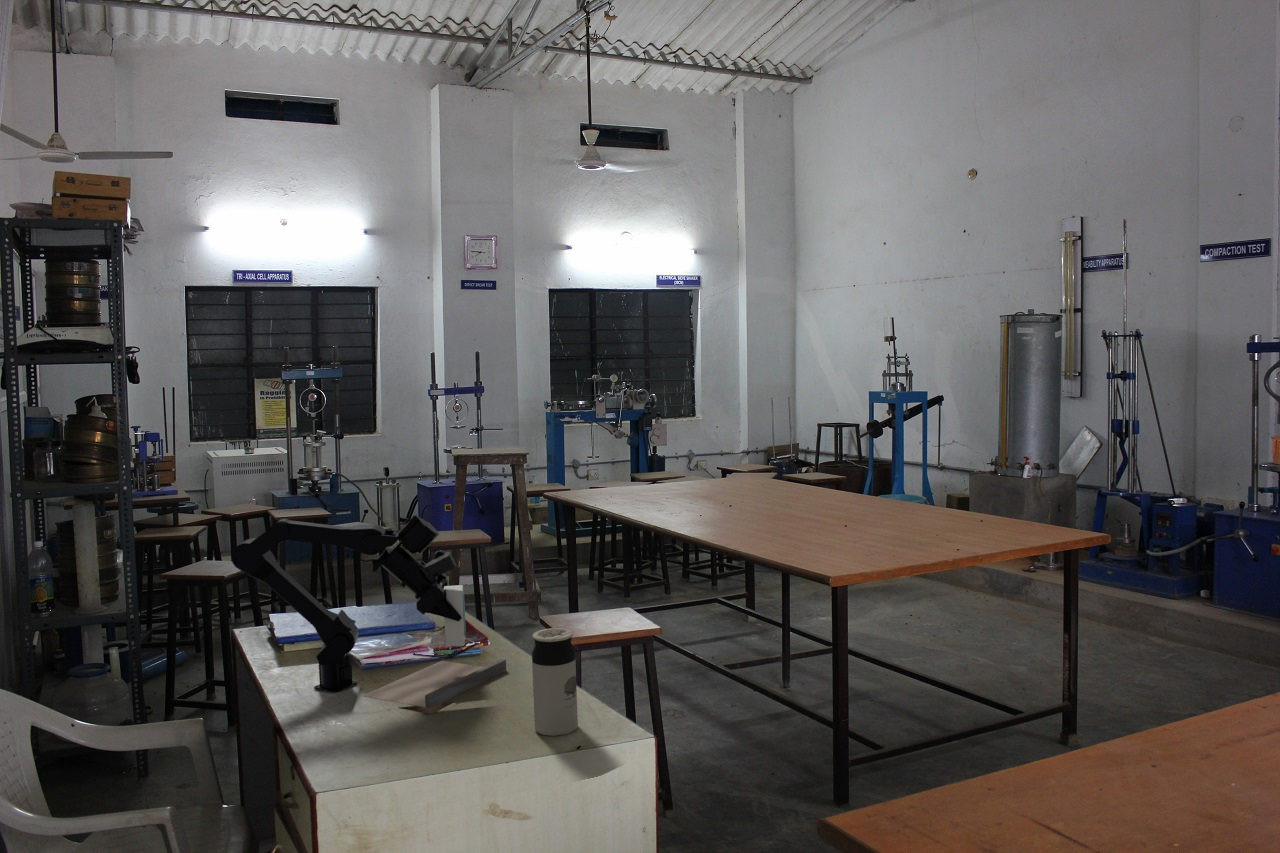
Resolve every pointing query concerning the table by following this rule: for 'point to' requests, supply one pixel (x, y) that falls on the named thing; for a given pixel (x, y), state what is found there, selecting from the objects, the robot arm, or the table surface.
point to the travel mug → (554, 682)
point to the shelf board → (436, 685)
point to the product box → (452, 627)
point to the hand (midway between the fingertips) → (460, 616)
